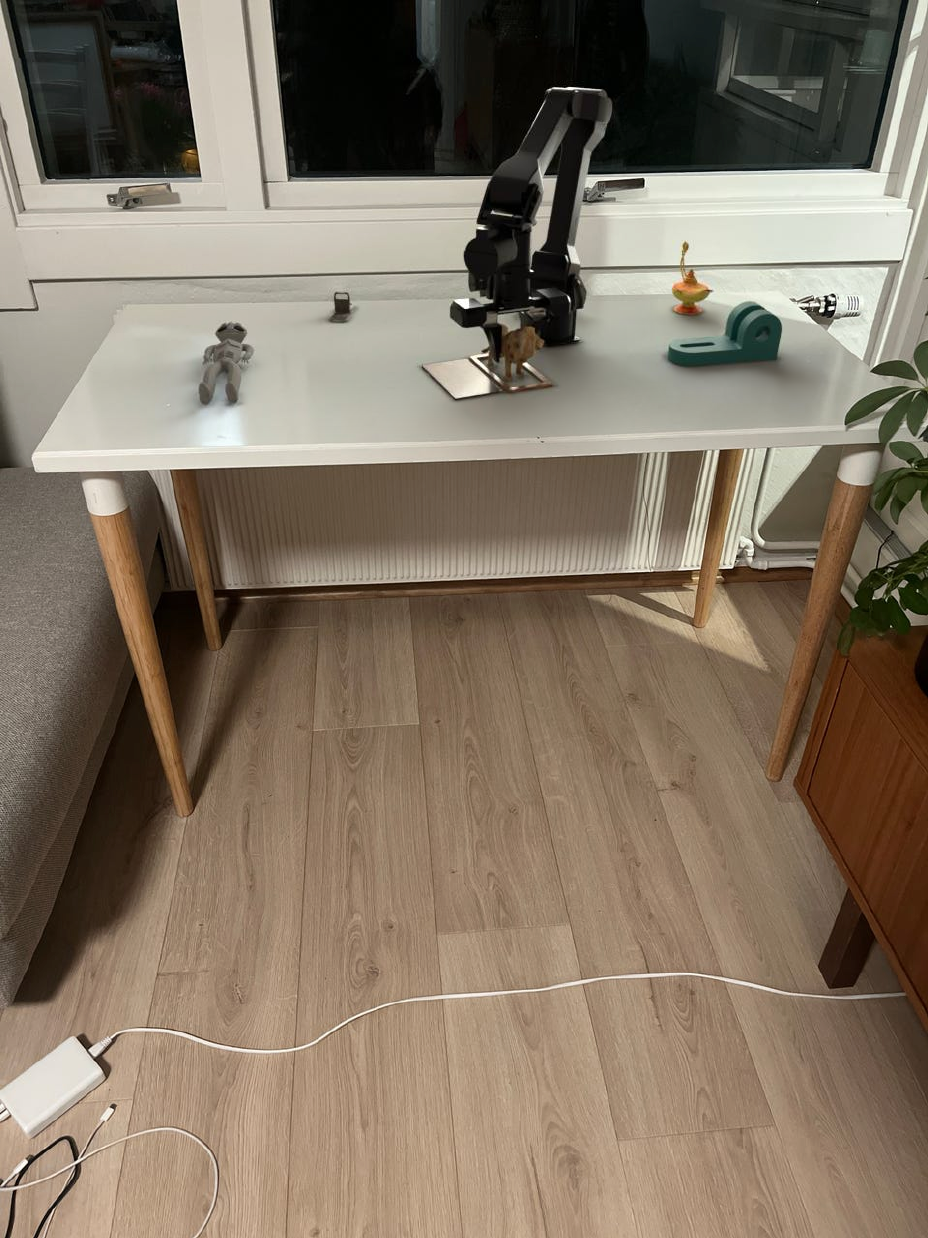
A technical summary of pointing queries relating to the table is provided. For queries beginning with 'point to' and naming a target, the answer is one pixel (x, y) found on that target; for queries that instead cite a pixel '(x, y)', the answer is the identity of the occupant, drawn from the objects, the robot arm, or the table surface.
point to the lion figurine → (516, 348)
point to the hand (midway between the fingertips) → (509, 359)
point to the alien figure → (225, 361)
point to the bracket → (733, 339)
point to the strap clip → (342, 308)
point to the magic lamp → (689, 289)
